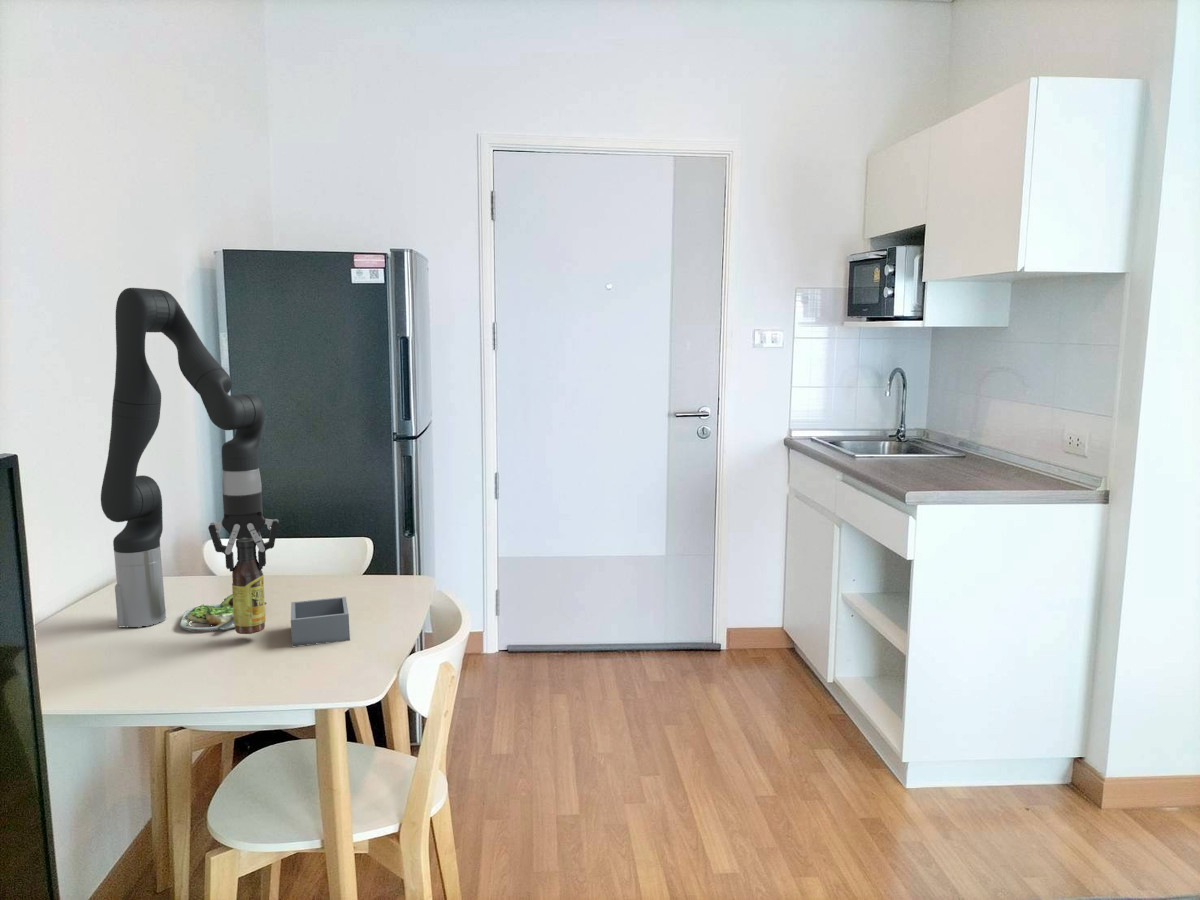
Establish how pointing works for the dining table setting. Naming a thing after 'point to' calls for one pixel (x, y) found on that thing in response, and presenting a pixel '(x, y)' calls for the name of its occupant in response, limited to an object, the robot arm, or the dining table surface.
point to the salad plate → (211, 616)
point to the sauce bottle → (248, 589)
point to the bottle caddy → (319, 621)
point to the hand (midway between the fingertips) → (246, 569)
